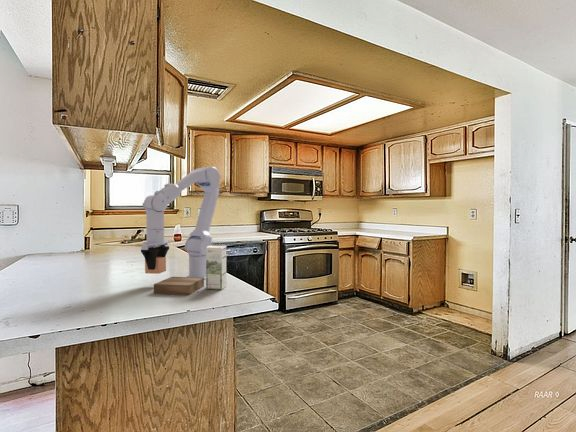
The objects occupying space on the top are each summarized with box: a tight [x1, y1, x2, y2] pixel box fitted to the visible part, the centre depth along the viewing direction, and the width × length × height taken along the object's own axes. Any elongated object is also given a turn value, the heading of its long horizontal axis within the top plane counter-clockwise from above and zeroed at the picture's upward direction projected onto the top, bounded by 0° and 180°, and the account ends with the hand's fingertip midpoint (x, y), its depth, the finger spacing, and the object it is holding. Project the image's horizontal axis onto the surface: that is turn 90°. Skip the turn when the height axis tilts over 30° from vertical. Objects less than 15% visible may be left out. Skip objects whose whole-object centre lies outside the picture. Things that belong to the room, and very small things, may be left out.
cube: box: [144, 256, 167, 274], centre depth 117 cm, size 5×5×5 cm
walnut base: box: [153, 276, 205, 296], centre depth 112 cm, size 12×12×3 cm
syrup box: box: [205, 244, 227, 290], centre depth 115 cm, size 6×6×14 cm
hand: (155, 267), depth 117 cm, fingers closed on cube, 5 cm apart
